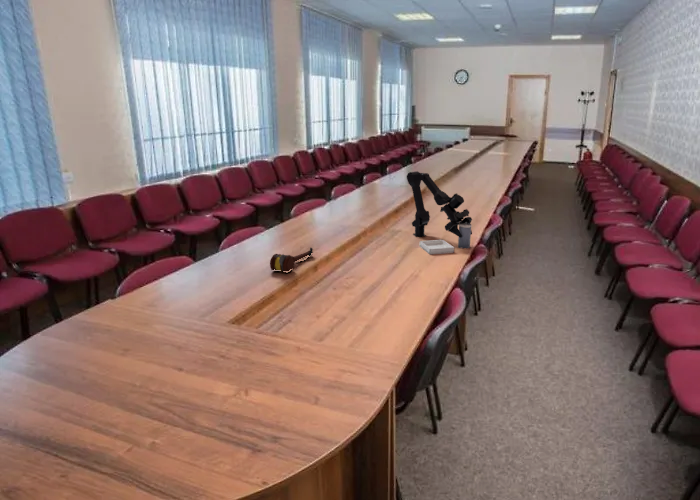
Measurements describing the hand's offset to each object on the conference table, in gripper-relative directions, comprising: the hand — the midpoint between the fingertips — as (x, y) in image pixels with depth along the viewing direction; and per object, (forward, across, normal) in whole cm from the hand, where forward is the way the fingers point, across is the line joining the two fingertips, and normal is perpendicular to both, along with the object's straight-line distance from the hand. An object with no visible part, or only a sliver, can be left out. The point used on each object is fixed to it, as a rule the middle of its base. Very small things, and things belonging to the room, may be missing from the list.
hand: (466, 235), depth 268 cm
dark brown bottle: (-23, -89, +33) cm, 98 cm away
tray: (-1, -15, +11) cm, 19 cm away
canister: (+4, 0, +6) cm, 7 cm away
